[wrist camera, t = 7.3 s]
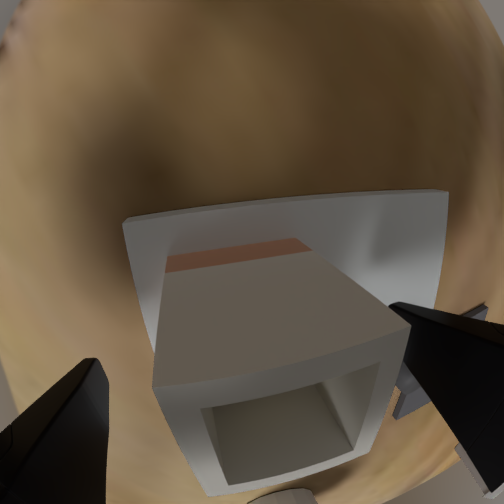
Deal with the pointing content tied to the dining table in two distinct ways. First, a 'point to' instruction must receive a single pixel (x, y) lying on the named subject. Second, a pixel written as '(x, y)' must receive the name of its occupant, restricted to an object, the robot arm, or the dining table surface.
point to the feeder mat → (419, 397)
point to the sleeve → (271, 363)
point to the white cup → (288, 497)
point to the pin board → (308, 242)
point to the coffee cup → (476, 475)
